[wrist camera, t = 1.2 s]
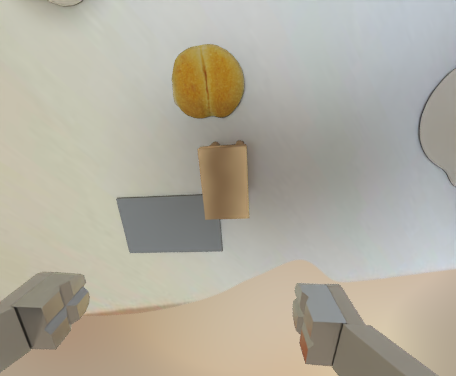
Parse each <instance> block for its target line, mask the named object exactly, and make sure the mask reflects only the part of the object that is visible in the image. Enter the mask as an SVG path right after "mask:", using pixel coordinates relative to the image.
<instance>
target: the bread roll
mask: <svg viewBox="0 0 456 376" xmlns="http://www.w3.org/2000/svg"><path fill="white" fill-rule="evenodd" d="M172 83H173V84H172V86H173V97H174V102H175V104H176V105H178V106H179V107H180V109H181V110H182V111H183V112H184V113H185V114H187V115H188V116H191V117H194V118H205V117H208V116H216V117H226V116H228V115H229V114H231V113H232V112H233V111H234V109H235V108H236V107H237V105H238V104H239V102H240V100H241V97H242V95H243V92H244V76H243V72H242V69H241V67H240V65H239V63H238V62H237V60H236V59H235V58H234V56H232V55H231V54H230V53H229V52H228V51H227V50H225V49H223V48H221V47H219V46H217V45H213V44H205V45H200V46H194V47H190V48H188V49H186V50H185V51H183V52H182V53H180V54H179V55H178V57H177V58H176V60H175V63H174V67H173V74H172Z"/></svg>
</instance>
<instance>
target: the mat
mask: <svg viewBox="0 0 456 376" xmlns="http://www.w3.org/2000/svg"><path fill="white" fill-rule="evenodd" d="M116 200H117V204H118V208H119V212H120V216H121V220H122V224H123V228H124V232H125V236H126V240H127V244H128V248H129V252H130V253H157V252H212V251H223V249H222V237H221V226H220V219H211V220H205V212H204V203H203V194H201V195H177V196H152V197H127V198H117V199H116Z"/></svg>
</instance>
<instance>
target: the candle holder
mask: <svg viewBox="0 0 456 376" xmlns="http://www.w3.org/2000/svg"><path fill="white" fill-rule="evenodd" d="M48 1H50V2H52V3H54V4H57V5H61V6H71V5H75V4H77V3H79V2H81V1H82V0H48Z"/></svg>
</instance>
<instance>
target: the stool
mask: <svg viewBox="0 0 456 376" xmlns="http://www.w3.org/2000/svg"><path fill="white" fill-rule="evenodd" d="M198 158H199V167H200V176H201V185H202V194H203V203H204V212H205V220H211V219H243V218H249V198H248V171H247V146H246V144H244V142H243V141H241V140H238V141H237V142H236V144H235V145H223V146H220V144H219V143H218V142H213V143H212V144H211V145H210V146H206V147H200V148H199V149H198Z"/></svg>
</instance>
